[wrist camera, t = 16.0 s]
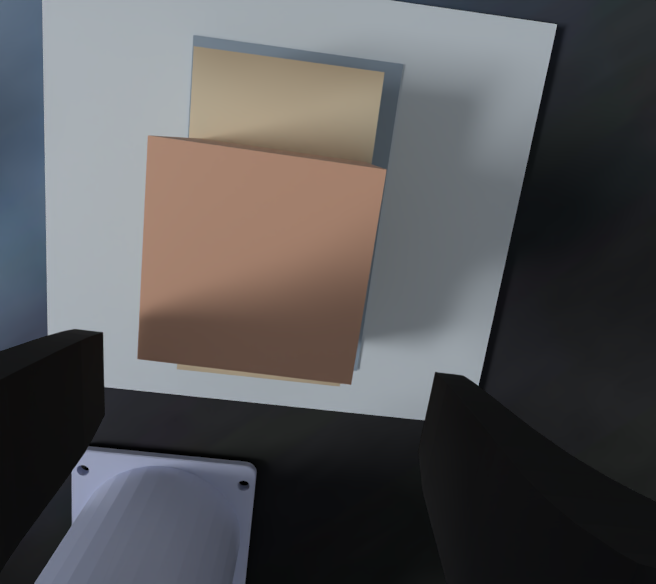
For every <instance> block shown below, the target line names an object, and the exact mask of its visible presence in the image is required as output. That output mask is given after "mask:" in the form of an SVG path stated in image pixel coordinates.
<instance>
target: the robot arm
mask: <svg viewBox="0 0 656 584" xmlns="http://www.w3.org/2000/svg"><path fill="white" fill-rule="evenodd" d="M104 415H105V406H104V348H103V332H96V331H88V330H80V329H72V330H66V331H62V332H58V333H55V334H51V335H48V336H45V337H42V338H39V339H35V340H32V341H29V342H26V343H23V344H20V345H17V346H15V347H12V348H9V349H6V350H3V351H0V572H1V570H2V569H3V567H4V565H5V564H6V562H7V561H8V559H9V558H10V556H11V555H12V553H13V552H14V550H15V549H16V547H17V546H18V544H19V543H20V541H21V540H22V539H23V537H24V536H25V534H26V533H27V532H28V530H29V529H30V528H31V526H32V525H33V524H34V522H35V521H36V519H37V518H38V517H39V515H40V514H41V513H42V511H43V510H44V509H45V507H46V506H47V505H48V503H49V502H50V500H51V499H52V498H53V496H54V495H55V494H56V492H57V491H58V490H59V488H60V487H61V486H62V484H63V483H64V481H65V480H66V479H67V477H68V476H69V474H70V473H71V472H72V526H71V528H70V529H69V531H68V532H67V534H66V535H65V537H64V538H63V540H62V541H61V543H60V544H59V546H58V548H57V549H56V551H55V552H54V554H53V555H52V557H51V558H50V560H49V561H48V563H47V565H46V566H45V568H44V569H43V571H42V572H41V574H40V575H39V577H38V578H37V580H36V582H35V583H34V584H245V582H246V572H247V562H248V552H249V543H250V533H251V523H252V513H253V503H254V494H255V484H256V474H257V471H256V468H255V466H254V465H253V464H251V463H249V462H244V461H234V460H224V459H214V458H204V457H194V456H184V455H173V454H163V453H153V452H143V451H133V450H123V449H112V448H102V447H92V446H89V444H90V442H91V441H92V439H93V437H94V435H95V433H96V431H97V429H98V427H99V425H100V423H101V421H102V419H103V417H104ZM418 455H419V465H420V474H421V482H422V490H423V495H424V499H425V503H426V507H427V511H428V515H429V518H430V522H431V526H432V530H433V534H434V537H435V541H436V545H437V549H438V553H439V556H440V560H441V564H442V568H443V571H444V575H445V579H446V583H447V584H656V502H655V501H653V500H651V499H649V498H647V497H645V496H643V495H641V494H639V493H637V492H635V491H633V490H631V489H629V488H627V487H625V486H623V485H622V484H620V483H618V482H616V481H614V480H612V479H610V478H609V477H607V476H605V475H604V474H602V473H600V472H598V471H597V470H595V469H593V468H592V467H590V466H588V465H587V464H585V463H583V462H582V461H580V460H578V459H577V458H575V457H573V456H572V455H570V454H569V453H567V452H566V451H564V450H563V449H561V448H560V447H558V446H557V445H555V444H554V443H553V442H551V441H550V440H548V439H547V438H545V437H544V436H543V435H541V434H540V433H538V432H537V431H536V430H534V429H533V428H532V427H530V426H529V425H527V424H526V423H525V422H524V421H522V420H521V419H520V418H518V417H517V416H516V415H514V414H513V413H512V412H511V411H509V410H508V409H507V408H506V407H504V406H503V405H502V404H501V403H499V402H498V401H497V400H496V399H494V398H493V397H492V396H491V395H489V394H488V393H487V392H486V391H484V390H483V389H482V388H480V387H479V386H478V385H477V384H475V383H474V382H472V381H471V380H470V379H468V378H467V377H465V376H463V375H456V374H448V373H440V372H435V375H434V379H433V384H432V389H431V393H430V398H429V403H428V407H427V412H426V417H425V421H424V426H423V431H422V435H421V440H420V445H419V449H418ZM81 465H84V466H86V467H87V468H88V469H89V470H84V469H83V468H82V467H81ZM240 481H246V482H248V483H249V484H248V485H245V486H244V485H241V484H240V483H239V482H240Z"/></svg>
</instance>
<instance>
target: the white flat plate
mask: <svg viewBox="0 0 656 584" xmlns="http://www.w3.org/2000/svg"><path fill="white" fill-rule="evenodd" d="M42 12H43V72H44V132H45V192H46V252H47V312H48V335H51V334H55V333H58V332H62V331H66V330H72V329H80V330H88V331H96V332H103V348H104V387H110V388H119V389H129V390H138V391H148V392H158V393H167V394H177V395H186V396H196V397H206V398H215V399H225V400H234V401H244V402H254V403H263V404H273V405H282V406H292V407H302V408H311V409H321V410H330V411H340V412H350V413H359V414H369V415H378V416H388V417H398V418H407V419H417V420H425V417H426V412H427V407H428V403H429V398H430V393H431V389H432V384H433V379H434V375H435V372H440V373H448V374H456V375H463V376H465V377H467V378H468V379H470V380H471V381H472V382H474V383H475V384H477V385H478V386H479V381H480V376H481V372H482V367H483V363H484V358H485V353H486V349H487V344H488V340H489V335H490V331H491V326H492V321H493V317H494V312H495V308H496V303H497V298H498V294H499V289H500V285H501V280H502V275H503V271H504V266H505V262H506V257H507V253H508V248H509V243H510V239H511V234H512V230H513V225H514V220H515V216H516V211H517V207H518V202H519V198H520V193H521V188H522V184H523V179H524V175H525V170H526V165H527V161H528V156H529V152H530V147H531V142H532V138H533V133H534V129H535V124H536V120H537V115H538V110H539V106H540V101H541V97H542V92H543V87H544V83H545V78H546V74H547V69H548V65H549V60H550V55H551V51H552V46H553V42H554V37H555V32H556V28H557V24H551V23H544V22H537V21H530V20H523V19H516V18H509V17H503V16H496V15H489V14H482V13H475V12H468V11H461V10H454V9H447V8H440V7H433V6H426V5H419V4H412V3H405V2H398V1H391V0H42ZM194 46H196V47H204V48H211V49H218V50H225V51H233V52H240V53H247V54H255V55H262V56H269V57H277V58H284V59H291V60H298V61H306V62H313V63H320V64H328V65H335V66H342V67H350V68H357V69H364V70H371V71H379V72H385V73H384V80H383V87H382V94H381V101H380V108H379V115H378V122H377V129H376V136H375V143H374V150H373V157H372V165H375V166H378V167H381V168H384V169H386V170H387V171H386V177H385V183H384V189H383V195H382V201H381V207H380V213H379V219H378V225H377V231H376V238H375V244H374V250H373V256H372V262H371V268H370V274H369V280H368V286H367V292H366V298H365V304H364V310H363V316H362V323H361V329H360V335H359V341H358V347H357V353H356V359H355V365H354V371H353V377H352V383H351V385H348V384H340V386H330V385H321V384H311V383H302V382H293V381H283V380H274V379H264V378H255V377H246V376H236V375H227V374H217V373H208V372H199V371H189V370H180V369H177V364H174V363H166V362H157V361H149V360H141V359H137V354H138V332H139V311H140V290H141V269H142V248H143V227H144V206H145V184H146V163H147V142H148V135H150V136H167V137H184V138H189V127H190V108H191V89H192V70H193V51H194Z"/></svg>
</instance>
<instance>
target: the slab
mask: <svg viewBox="0 0 656 584" xmlns="http://www.w3.org/2000/svg"><path fill="white" fill-rule="evenodd" d="M384 73H385V72H379V71H371V70H364V69H357V68H350V67H342V66H335V65H328V64H320V63H313V62H306V61H298V60H291V59H284V58H277V57H269V56H262V55H255V54H247V53H240V52H233V51H225V50H218V49H211V48H204V47H196V46H194V51H193V70H192V89H191V108H190V127H189V138H201V139H207V140H214V141H221V142H228V143H235V144H242V145H249V146H256V147H263V148H270V149H277V150H284V151H291V152H298V153H305V154H312V155H319V156H326V157H333V158H340V159H347V160H354V161H361V162H367V163H370V164H372V157H373V150H374V143H375V136H376V129H377V122H378V115H379V108H380V101H381V94H382V87H383V80H384ZM177 369H180V370H189V371H199V372H208V373H217V374H227V375H236V376H246V377H255V378H264V379H274V380H283V381H293V382H302V383H311V384H321V385H330V386H340V383H332V382H323V381H315V380H307V379H298V378H290V377H282V376H273V375H265V374H257V373H249V372H240V371H232V370H224V369H215V368H207V367H199V366H190V365H182V364H177Z"/></svg>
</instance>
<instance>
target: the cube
mask: <svg viewBox="0 0 656 584" xmlns="http://www.w3.org/2000/svg"><path fill="white" fill-rule="evenodd" d="M386 171H387V170H386V169H384V168H381V167H378V166H375V165H372V164H370V163H367V162H361V161H354V160H347V159H340V158H333V157H326V156H319V155H312V154H305V153H298V152H291V151H284V150H277V149H270V148H263V147H256V146H249V145H242V144H235V143H228V142H221V141H214V140H207V139H201V138H184V137H167V136H150V135H148V142H147V163H146V184H145V206H144V227H143V248H142V269H141V290H140V311H139V332H138V354H137V359H141V360H149V361H157V362H166V363H174V364H182V365H190V366H199V367H207V368H215V369H224V370H232V371H240V372H249V373H257V374H265V375H273V376H282V377H290V378H298V379H307V380H315V381H323V382H332V383H340V384H348V385H351V383H352V377H353V371H354V365H355V359H356V353H357V347H358V341H359V335H360V329H361V323H362V316H363V310H364V304H365V298H366V292H367V286H368V280H369V274H370V268H371V262H372V256H373V250H374V244H375V238H376V231H377V225H378V219H379V213H380V207H381V201H382V195H383V189H384V183H385V177H386Z"/></svg>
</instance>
